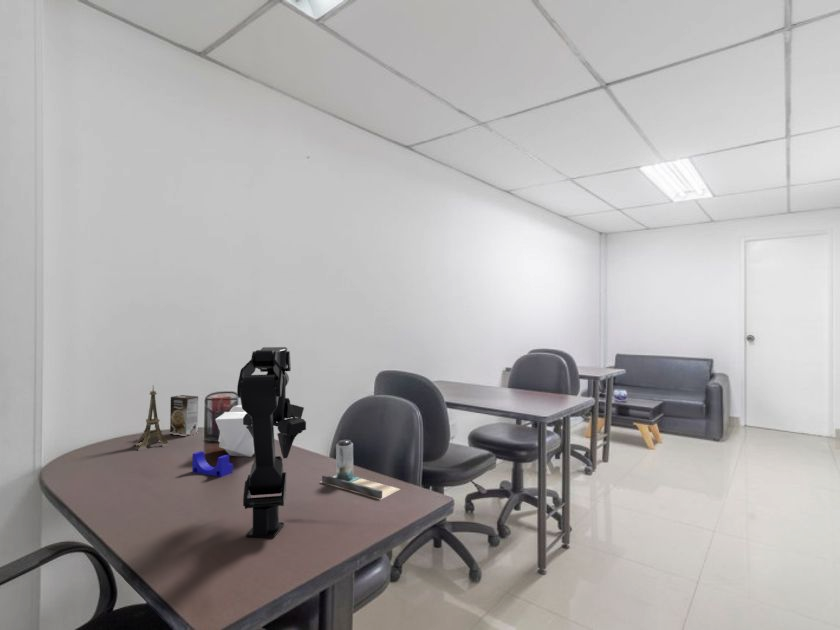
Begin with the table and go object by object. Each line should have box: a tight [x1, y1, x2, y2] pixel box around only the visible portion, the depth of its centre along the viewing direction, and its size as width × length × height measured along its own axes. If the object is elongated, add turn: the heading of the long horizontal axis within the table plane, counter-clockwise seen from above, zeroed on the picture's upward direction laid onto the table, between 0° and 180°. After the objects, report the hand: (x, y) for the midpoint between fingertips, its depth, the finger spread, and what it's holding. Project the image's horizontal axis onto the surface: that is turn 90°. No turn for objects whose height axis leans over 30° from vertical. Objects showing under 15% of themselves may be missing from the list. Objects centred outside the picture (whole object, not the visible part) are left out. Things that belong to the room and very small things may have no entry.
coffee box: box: [169, 394, 199, 434], centre depth 188 cm, size 9×6×16 cm
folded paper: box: [215, 404, 255, 458], centre depth 161 cm, size 17×24×17 cm
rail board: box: [320, 474, 401, 501], centre depth 127 cm, size 23×9×3 cm, turn 56°
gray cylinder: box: [335, 439, 354, 481], centre depth 133 cm, size 5×5×11 cm
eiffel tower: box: [136, 386, 169, 448], centre depth 171 cm, size 11×11×25 cm
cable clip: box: [191, 450, 234, 478], centre depth 141 cm, size 12×4×6 cm, turn 69°
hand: (273, 455), depth 116 cm, fingers open, 9 cm apart
